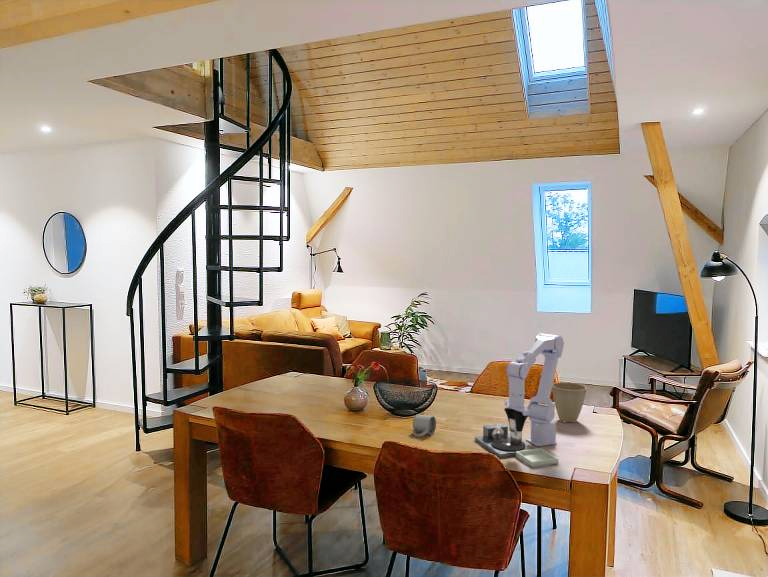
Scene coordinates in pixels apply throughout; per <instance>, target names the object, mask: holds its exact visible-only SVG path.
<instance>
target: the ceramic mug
mask: <svg viewBox="0 0 768 577" xmlns="http://www.w3.org/2000/svg"><path fill="white" fill-rule="evenodd" d="M412 428H413V429H412V434H413V436H415V437H417V438H421V437H424V436H426V435H433V434H434V433H435V431H436V429H437V420H436V417H435V416H434V415H425V414H417V415H415V416H414V418H413V419H412ZM415 432H417V433H415Z"/></svg>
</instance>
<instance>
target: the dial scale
mask: <svg viewBox="0 0 768 577" xmlns="http://www.w3.org/2000/svg"><path fill="white" fill-rule="evenodd" d="M482 427H483V430H482V431H483V432H482V435H481V436H474V441H475V442H476V443H477V444H478V445H479V446H480V445H481V446H482V447H483V448H485V449H486V450H488V451H489V452H491V453H492V454H493V453H494V454H493V455H495V456H496V455H497V456H498V457H497V456H496V457H497V458H499V459H503V458H511V457H516V451H524V450H531V449H536V448H535V447H534V446H532V445H530V444H528V443H527V442H525V441H523V440H522V443H521V444H513V443H511V442H510V435H511V432H509V426H508V425H506V424H504V423H498V424H497V423H496V424H489V425H488V424H487V425H483V426H482Z"/></svg>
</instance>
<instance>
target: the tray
mask: <svg viewBox="0 0 768 577" xmlns="http://www.w3.org/2000/svg"><path fill="white" fill-rule="evenodd" d="M515 457H516V458H517V459H518V458H519V459H518V460H520V461H521V460H522V461H521V462H523V463H524V462H525V464H526V465H527V464H528V465H527V466H529V467H530V468H539V467H544V466H545V467H546V465H547V466H552V465H553V464H554V465H558V464H559V458H558V457H557V456H555V455H553V454H551V453H550V452H548V451H546V450H545V449H543V448H542V447H541V448H535V449H531V450H524V451H516V456H515ZM554 465H553V466H554ZM538 466H539V467H538Z"/></svg>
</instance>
